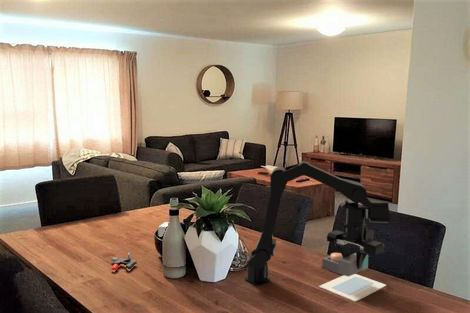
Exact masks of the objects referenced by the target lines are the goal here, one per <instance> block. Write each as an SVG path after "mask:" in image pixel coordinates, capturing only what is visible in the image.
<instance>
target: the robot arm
mask: <svg viewBox="0 0 470 313" xmlns="http://www.w3.org/2000/svg"><path fill="white" fill-rule="evenodd" d="M302 176H306V177H308V178H311V179H312V180H314V181H317V182H319V183H321V184H323V185H325V186H328V187H330V188H332V189H333V190H336V191H338V192H339V193H340V194H342V196H344V197H345V198H347V199H349V200H350V201H348V200H347V199H345V200H344V201H343V202H342V203H341V204H340V207H341V208H342V209H346V220H345V223H343V228H345V232H344V231H341V230H337V229H336V230H332V231H329V232H328V233H327V235H326V241H327V242H330V243H332V244H333V243H335V242H336V243H335V244H334V246H335V247H337V249H338V251H339V253H341V254H342V256H343V258H344V257H347V256H349V255H351V247H352V245H353V246H358V247H359V249H357V250H356V251H355V253H356V259H357V268H358V269H360V268H361V266H362V264H363V262H364V259H365V257H366V256H367V255H371V256H377V255H380V254H381V253H384V252H385V244H384V243H383V242H380V241H377V240H374V236H375V235H374V234H375V230H373V229H370V228H368V224H366V223H365V219H366V220H369V223H381V224H382V223H384V224H389V223H390V218H391V213H390V208H389V202H388V201H371V199H370V198H369V197H368V195H367V194H368V193H367V189H366V188H365V187H364V186H363V184H362V183H360V182H358V181H355V180H351V179H346V178H341V177H339V176H337V175H334V174H333V173H331V172H327V171H326V170H324V169H321V168H319V167H317V166H314V165H313V164H310V163H309V162H307V161H305V160H304V161H301V162H298V163H295V164H292V165H288V166H278V167H277V166H276V167H275V168H273V170H272V172H271V174H270V178H269V179H270V181H269V182H270V183H269V184H270V185H269V190H270V191H269V199H268V205H267V209H266V214H265V218H264V224H263V229H262V231H261V234H260V236H259V238H258V241H257V242H256V246H255V248H254V249H253V250H252V251H250V254H249V258H248V260H247V277H245V278H244V281H246V282H249V283H251V284H252V285H256V286H260V285H263V284H265V283H268V282H270V281H271V278H269V277H268V276H269V274H268V273H269V271H268V270H269V268H268V267H269V266H268V261H270V260H271V259H272V258H271V257H274V255H275V249H276V245H277V240H278V239H277V238H274V231H275V229H274V228H275V225H276V222H277V217H278V210H279V207H280V202H281V197H282V195H283V193H284V192H285V189H286V187H287V184H288V182H290V181H293V180H295V179H298V178H300V177H302ZM359 203H360V204H359ZM365 217H366V218H365ZM368 240H371V241H368ZM367 241H368V242H367Z"/></svg>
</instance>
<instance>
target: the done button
mask: <svg viewBox="0 0 470 313" xmlns="http://www.w3.org/2000/svg"><path fill="white" fill-rule="evenodd" d="M330 256H331V260H332V261H335V262H338V263H339V259H341V258H343V256H342V254H341V252H332V253H330Z"/></svg>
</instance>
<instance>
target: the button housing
mask: <svg viewBox="0 0 470 313" xmlns="http://www.w3.org/2000/svg"><path fill="white" fill-rule="evenodd" d="M321 263H322V265H321V267H320V268H321V269H324V270H327V271H330V272H333V273H335V274H338V275H341V274H340V273H338V264H339V263H338V262H335V261H332V260H331V255H328V256H325V257H323V258H322V262H321Z"/></svg>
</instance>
